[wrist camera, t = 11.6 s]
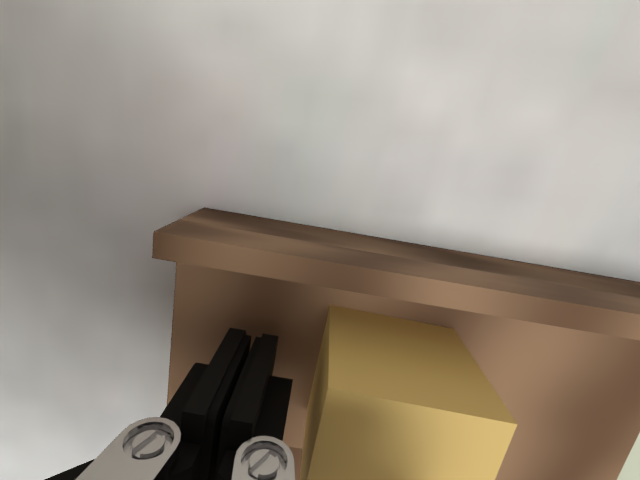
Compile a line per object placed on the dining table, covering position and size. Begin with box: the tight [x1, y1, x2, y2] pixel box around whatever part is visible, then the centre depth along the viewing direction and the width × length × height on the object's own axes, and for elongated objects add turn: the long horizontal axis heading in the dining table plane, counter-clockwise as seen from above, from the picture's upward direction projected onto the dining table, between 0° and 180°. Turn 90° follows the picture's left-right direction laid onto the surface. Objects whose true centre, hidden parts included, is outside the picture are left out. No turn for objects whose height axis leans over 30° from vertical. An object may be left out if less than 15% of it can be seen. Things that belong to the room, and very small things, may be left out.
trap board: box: [152, 208, 640, 480], centre depth 14 cm, size 25×15×4 cm, turn 80°
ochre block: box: [300, 305, 517, 480], centre depth 11 cm, size 4×4×4 cm
